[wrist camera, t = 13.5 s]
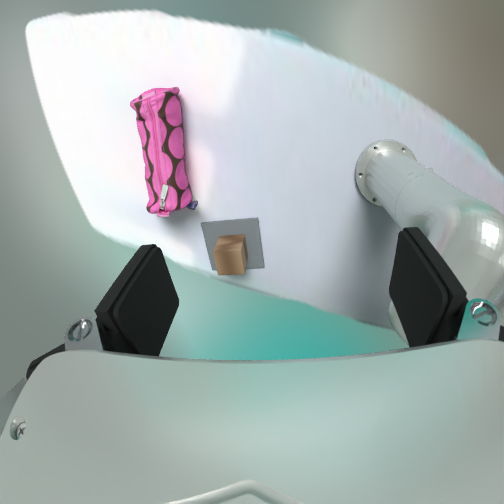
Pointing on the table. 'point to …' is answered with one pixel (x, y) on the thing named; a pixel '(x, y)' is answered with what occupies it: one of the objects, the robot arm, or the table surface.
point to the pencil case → (163, 150)
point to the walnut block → (231, 254)
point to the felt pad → (235, 228)
